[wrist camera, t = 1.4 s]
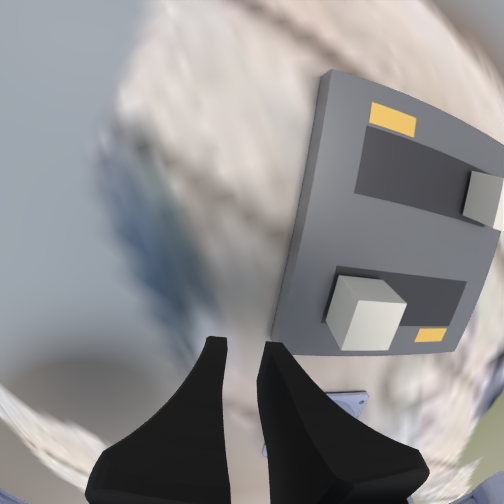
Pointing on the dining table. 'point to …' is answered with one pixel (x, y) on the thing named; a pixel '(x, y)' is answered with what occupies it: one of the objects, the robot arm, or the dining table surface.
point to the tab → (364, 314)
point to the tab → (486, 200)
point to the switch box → (387, 217)
